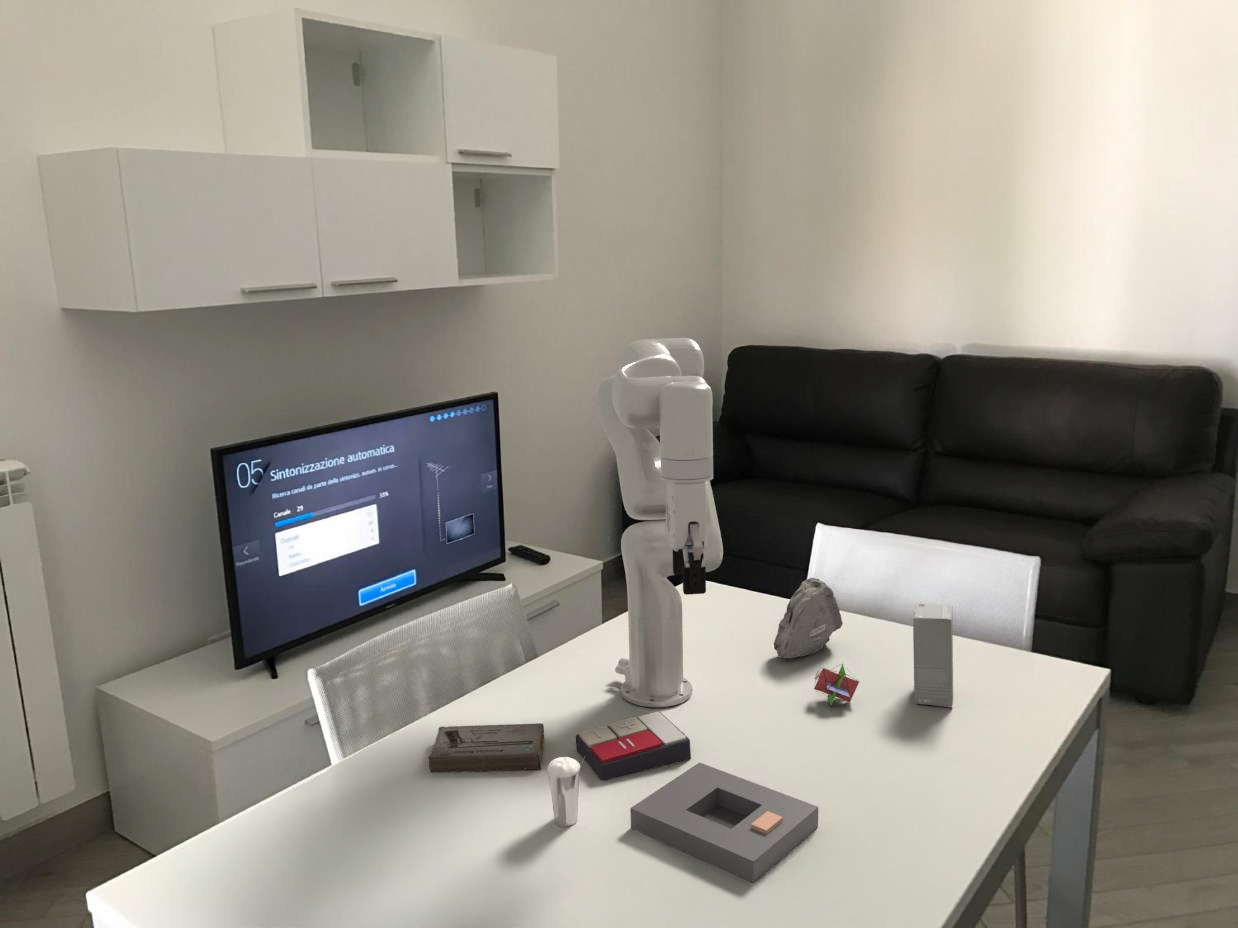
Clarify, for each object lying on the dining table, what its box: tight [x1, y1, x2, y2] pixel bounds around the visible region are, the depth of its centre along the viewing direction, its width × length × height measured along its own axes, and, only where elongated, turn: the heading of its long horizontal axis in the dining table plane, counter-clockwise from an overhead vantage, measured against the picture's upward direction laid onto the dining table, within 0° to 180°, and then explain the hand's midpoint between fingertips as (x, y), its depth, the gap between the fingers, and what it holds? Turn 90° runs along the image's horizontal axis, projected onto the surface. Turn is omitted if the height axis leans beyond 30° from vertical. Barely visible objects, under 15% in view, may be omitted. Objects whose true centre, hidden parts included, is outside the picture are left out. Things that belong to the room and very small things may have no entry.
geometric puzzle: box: [813, 663, 860, 708], centre depth 177 cm, size 7×7×8 cm
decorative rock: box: [773, 577, 843, 659], centre depth 198 cm, size 16×7×15 cm, turn 124°
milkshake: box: [546, 756, 585, 828], centre depth 142 cm, size 4×5×10 cm
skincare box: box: [912, 603, 954, 708], centre depth 177 cm, size 8×7×16 cm
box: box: [427, 723, 545, 774], centre depth 162 cm, size 11×17×3 cm, turn 90°
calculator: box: [574, 711, 692, 782], centre depth 161 cm, size 11×4×15 cm
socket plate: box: [629, 762, 819, 883], centre depth 141 cm, size 20×16×4 cm
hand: (689, 583), depth 150 cm, fingers open, 9 cm apart
